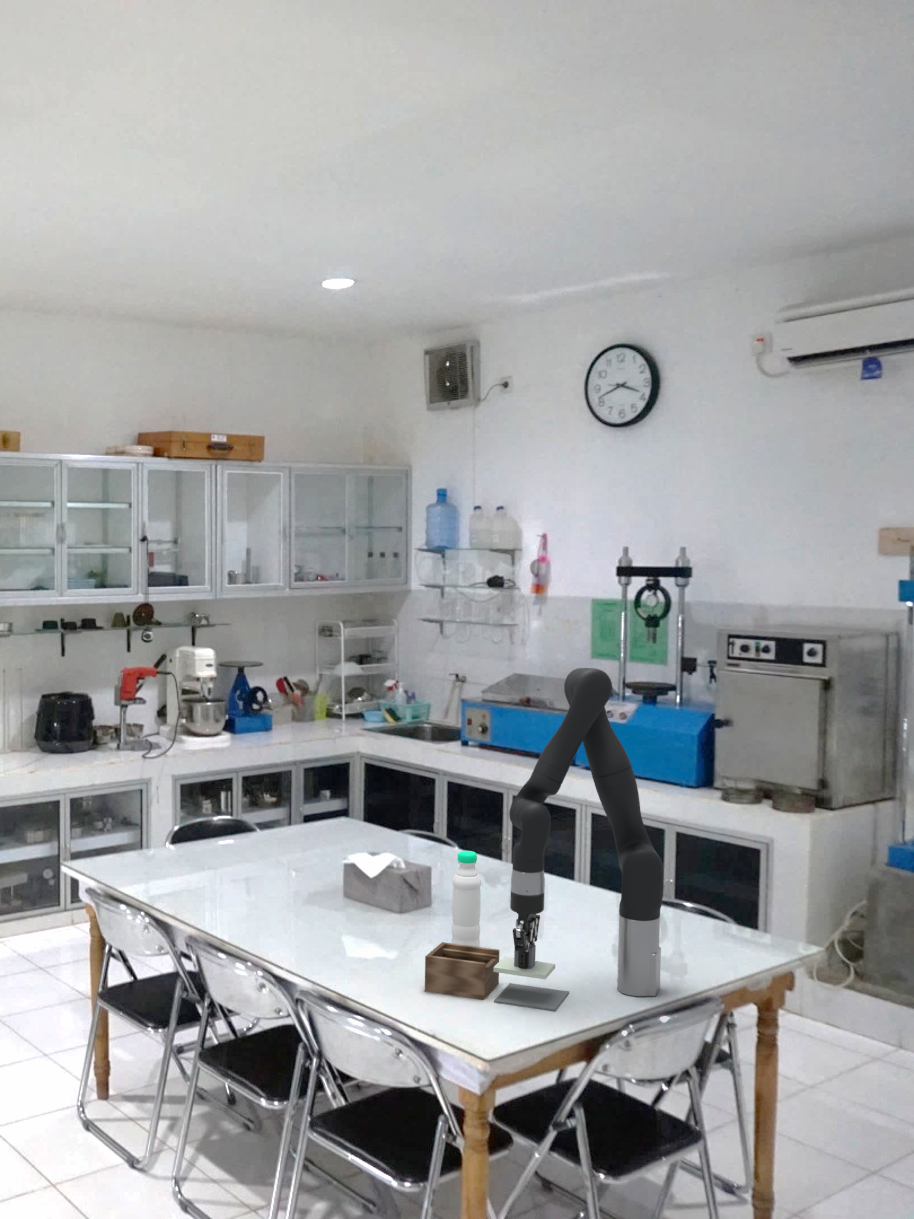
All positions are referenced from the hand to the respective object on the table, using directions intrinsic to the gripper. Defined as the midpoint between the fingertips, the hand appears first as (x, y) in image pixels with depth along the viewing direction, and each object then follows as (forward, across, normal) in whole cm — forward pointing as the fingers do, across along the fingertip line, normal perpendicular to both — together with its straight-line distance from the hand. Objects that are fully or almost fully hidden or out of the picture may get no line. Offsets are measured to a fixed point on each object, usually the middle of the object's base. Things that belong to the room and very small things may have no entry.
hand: (525, 965), depth 273 cm
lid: (+1, 0, 0) cm, 1 cm away
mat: (+7, 0, -2) cm, 7 cm away
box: (+7, 0, +15) cm, 16 cm away
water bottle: (+7, +24, +22) cm, 34 cm away
